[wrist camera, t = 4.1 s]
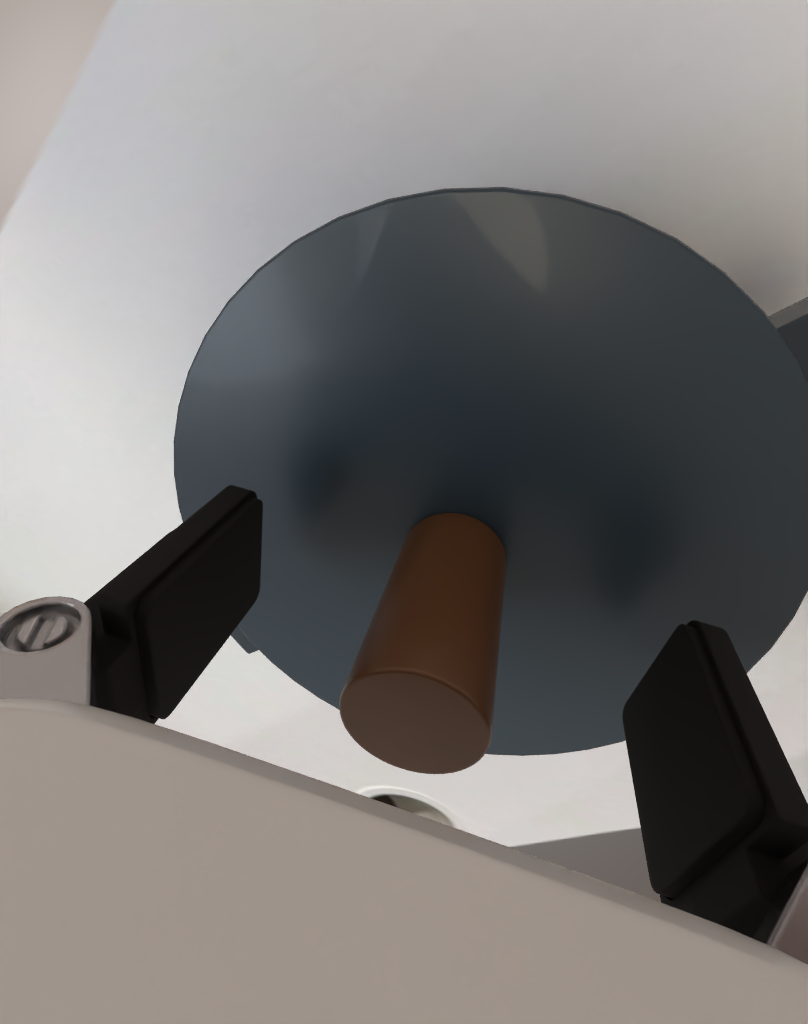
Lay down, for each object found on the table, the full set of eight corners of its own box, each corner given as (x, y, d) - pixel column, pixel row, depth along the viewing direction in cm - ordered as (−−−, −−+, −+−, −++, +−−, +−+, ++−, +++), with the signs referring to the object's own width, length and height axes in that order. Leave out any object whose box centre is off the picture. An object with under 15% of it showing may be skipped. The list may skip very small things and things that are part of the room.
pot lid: (98, 428, 14) (-149, 542, 9) (633, -48, 8) (857, -671, 2) (392, 758, 19) (339, 956, 14) (886, 653, 12) (1144, 967, 7)
